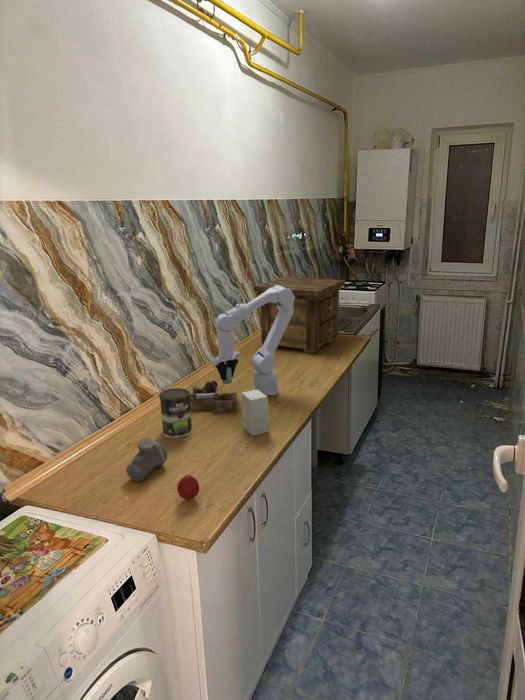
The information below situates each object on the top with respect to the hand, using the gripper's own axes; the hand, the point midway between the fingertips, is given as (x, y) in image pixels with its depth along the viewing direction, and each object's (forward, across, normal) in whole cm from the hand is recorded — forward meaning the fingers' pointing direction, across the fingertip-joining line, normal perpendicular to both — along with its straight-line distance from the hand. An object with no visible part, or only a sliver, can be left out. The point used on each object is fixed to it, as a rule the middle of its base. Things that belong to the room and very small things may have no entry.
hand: (227, 378), depth 202 cm
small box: (+9, -15, -27) cm, 32 cm away
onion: (+9, -59, -39) cm, 71 cm away
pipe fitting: (+9, -57, -19) cm, 60 cm away
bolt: (+9, -2, +10) cm, 13 cm away
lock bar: (+4, -12, +1) cm, 13 cm away
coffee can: (+9, -32, -6) cm, 34 cm away
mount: (+8, -10, -2) cm, 13 cm away
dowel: (+2, 0, 0) cm, 2 cm away
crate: (+9, +79, +19) cm, 81 cm away
